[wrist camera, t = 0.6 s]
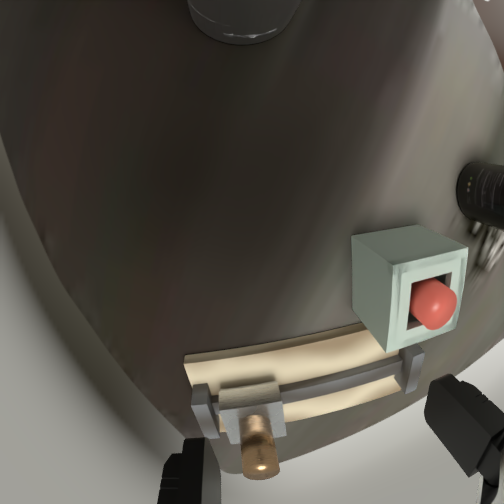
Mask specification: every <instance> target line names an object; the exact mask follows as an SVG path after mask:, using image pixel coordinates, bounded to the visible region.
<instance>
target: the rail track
mask: <svg viewBox="0 0 504 504" xmlns="http://www.w3.org/2000/svg"><path fill="white" fill-rule="evenodd" d="M424 355H425V352H424V351H423V350H422V348H421V347H420V346H419V345H418V344H417V343H415V344H412V345H410V346H407V347H404V348H401V349H398V350H395V351H392V352H388V353H385V351H384V350H383V349H382V347H381V346H380V345H379V343H378V342H377V341H376V339H375V338H374V337H373V335H372V334H371V333H370V332H369V330H368V329H367V328H366V326H365V325H364V324H363V322H362V323H358V324H354V325H350V326H346V327H342V328H338V329H333V330H329V331H324V332H320V333H315V334H311V335H306V336H301V337H296V338H291V339H286V340H281V341H276V342H270V343H265V344H259V345H253V346H247V347H241V348H235V349H228V350H221V351H214V352H207V353H199V354H191V355H185V358H184V367H185V369H186V372H187V375H188V378H189V380H190V383H191V386H192V388H193V390H192V401H191V407H192V409H193V411H194V414H195V416H196V418H197V421H198V423H199V425H200V427H201V430H202V432H203V434H204V436H205V437H207V438H208V439H214V438H220V432H226V429H225V426H224V424H223V421H222V418H221V415H220V412H219V391H220V389H226V388H234V387H241V386H247V385H253V384H259V383H265V382H271V381H276V380H277V382H278V386H279V390H280V394H281V399H282V404H283V412H284V420H285V422H290V421H295V420H300V419H305V418H309V417H313V416H318V415H322V414H326V413H330V412H333V411H337V410H341V409H344V408H348V407H351V406H355V405H358V404H361V403H365V402H368V401H371V400H374V399H377V398H380V397H383V396H386V395H389V394H392V393H394V392H397V391H400V390H403V392H404V393H405V394H406V393H409V392H412V391H414V390H416V388H417V384H418V380H419V376H420V372H421V368H422V364H423V360H424Z"/></svg>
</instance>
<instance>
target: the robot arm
mask: <svg viewBox="0 0 504 504" xmlns="http://www.w3.org/2000/svg"><path fill="white" fill-rule="evenodd" d="M187 1H188V6H189V10H190V14H191V17H192V19H193V21H194V23H195V24H196V25H197V27H198V28H199V29H200V30H201V31H202V32H204V33H205V34H206V35H208V36H210V37H212V38H213V39H215V40H218V41H221V42H225V43H229V44H236V45H249V44H255V43H260V42H263V41H266V40H269V39H271V38H273V37H274V36H276V35H278V34H279V33H280V32H281V31H283V30H284V29H285V28H286V26H287V25H288V23H289V22H290V20H291V18H292V16H293V15H294V13H295V11H296V9H297V8H298V6H299V4H300V3H301V1H302V0H187ZM424 416H425V420H426V422H427V424H428V425H429V426H430V428H431V429H432V430H433V431H434V433H435V434H436V435H437V437H438V438H439V439H440V441H441V442H442V443H443V444H444V446H445V447H446V448H447V450H448V451H449V452H450V453H451V455H452V456H453V457H454V459H455V460H456V461H457V463H458V464H459V465H460V467H461V468H462V469H463V470H464V472H465V473H466V475H467V476H468V477H470V476H472V475H474V474H475V473H477V472H478V471H479V472H480V474H481V476H480V479H479V485H478V493H477V500H476V504H504V413H503V412H502V411H501V410H500V409H499V408H498V407H497V406H496V405H495V404H494V403H493V402H492V401H490V400H488V398H487V397H486V396H485V395H484V394H483V395H482V392H481V391H479V390H478V389H477V388H476V387H475V386H474V385H472V384H469V383H467V382H464V381H461V382H459V381H458V380H457V379H456V378H455V377H454V376H453V375H452V374H446V375H444V376H442V377H440V378H437V379H435V380H433V381H432V382H431V383H430V386H429V391H428V396H427V401H426V405H425V409H424ZM157 504H221V473H220V467H219V464H218V461H217V458H216V456H215V454H214V451H213V449H212V446H211V444H210V441H209V439H208V438H207V437H202V438H188V439H185V440H184V444H183V451H182V453H178V454H177V453H176V454H172V455H171V456H170V457H169V458H168V460H167V461H166V463H165V464H164V468H163V473H162V480H161V484H160V490H159V496H158V502H157Z"/></svg>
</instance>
